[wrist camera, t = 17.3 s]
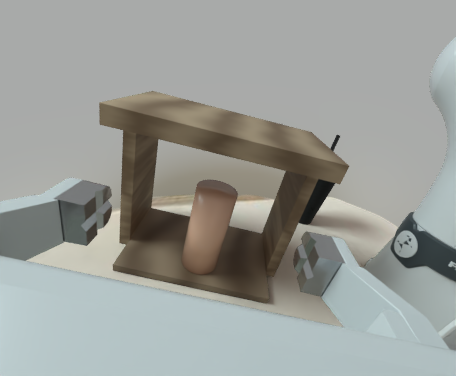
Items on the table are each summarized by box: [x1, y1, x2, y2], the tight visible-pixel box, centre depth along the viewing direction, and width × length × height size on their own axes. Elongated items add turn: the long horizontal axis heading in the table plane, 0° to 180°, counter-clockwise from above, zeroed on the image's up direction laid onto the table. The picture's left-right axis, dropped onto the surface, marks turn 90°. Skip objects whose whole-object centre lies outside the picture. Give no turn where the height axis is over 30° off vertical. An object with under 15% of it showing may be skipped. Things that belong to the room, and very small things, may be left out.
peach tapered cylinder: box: [182, 180, 238, 275], centre depth 32 cm, size 5×5×12 cm
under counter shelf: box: [99, 91, 349, 303], centre depth 33 cm, size 24×14×21 cm, turn 87°
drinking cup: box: [299, 135, 340, 224], centre depth 50 cm, size 8×8×20 cm
